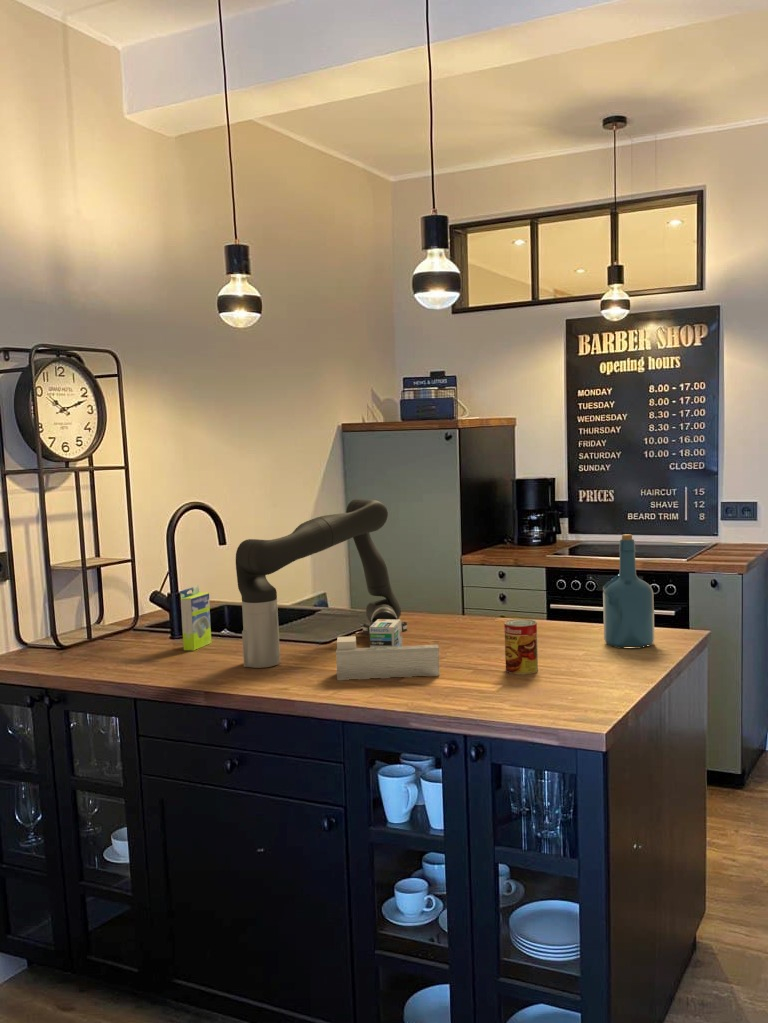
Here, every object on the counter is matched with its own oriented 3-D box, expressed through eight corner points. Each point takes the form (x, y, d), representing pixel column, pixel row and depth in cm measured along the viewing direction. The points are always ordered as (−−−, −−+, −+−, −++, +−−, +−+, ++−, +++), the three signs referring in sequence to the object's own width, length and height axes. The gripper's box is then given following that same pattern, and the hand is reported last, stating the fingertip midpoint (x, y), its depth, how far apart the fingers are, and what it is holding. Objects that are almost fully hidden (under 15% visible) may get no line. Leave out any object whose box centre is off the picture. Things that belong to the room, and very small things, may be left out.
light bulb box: (396, 668, 230) (394, 627, 229) (370, 668, 232) (368, 626, 231) (403, 658, 241) (402, 618, 240) (378, 658, 242) (377, 618, 241)
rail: (337, 681, 220) (335, 652, 219) (338, 672, 229) (337, 643, 228) (439, 677, 220) (438, 647, 219) (437, 667, 229) (436, 639, 229)
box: (194, 651, 260) (190, 591, 258) (181, 650, 261) (178, 591, 260) (212, 643, 270) (209, 585, 268) (200, 642, 271) (197, 585, 270)
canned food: (500, 668, 226) (498, 621, 225) (527, 664, 229) (526, 618, 228) (515, 676, 218) (514, 626, 218) (544, 671, 221) (542, 623, 220)
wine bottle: (663, 642, 247) (661, 533, 245) (639, 652, 237) (637, 538, 235) (618, 636, 256) (615, 531, 254) (593, 645, 247) (591, 536, 245)
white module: (338, 678, 223) (336, 642, 222) (339, 671, 229) (337, 636, 229) (357, 677, 223) (355, 641, 222) (357, 670, 229) (355, 635, 229)
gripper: (360, 609, 261) (360, 621, 243) (406, 607, 261) (409, 619, 244) (361, 635, 261) (361, 648, 244) (407, 633, 261) (410, 646, 244)
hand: (385, 634), depth 244 cm, fingers closed
